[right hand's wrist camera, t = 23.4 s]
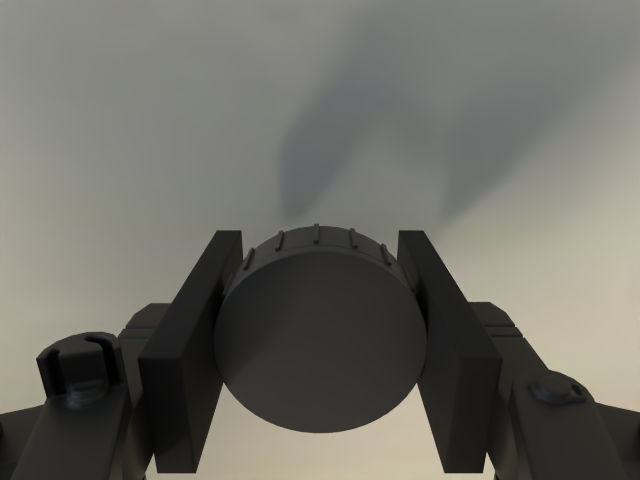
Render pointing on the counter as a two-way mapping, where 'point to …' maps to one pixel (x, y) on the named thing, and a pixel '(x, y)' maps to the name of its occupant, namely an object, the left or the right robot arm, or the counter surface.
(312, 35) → the counter surface
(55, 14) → the counter surface
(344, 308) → the lid
